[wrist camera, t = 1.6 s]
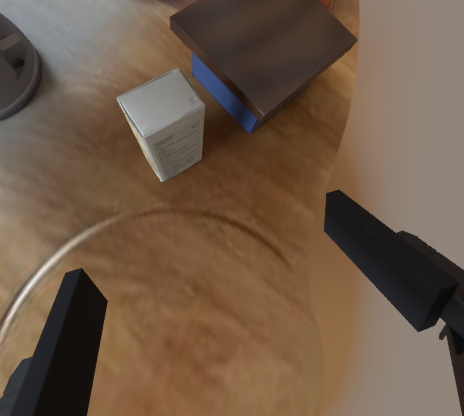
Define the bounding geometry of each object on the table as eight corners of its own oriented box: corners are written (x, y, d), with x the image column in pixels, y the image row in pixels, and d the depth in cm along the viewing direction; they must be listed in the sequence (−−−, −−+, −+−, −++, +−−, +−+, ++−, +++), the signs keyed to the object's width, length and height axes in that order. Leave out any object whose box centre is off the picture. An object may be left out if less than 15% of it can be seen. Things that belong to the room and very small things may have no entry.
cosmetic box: (185, 134, 33) (182, 64, 21) (202, 160, 33) (209, 103, 21) (141, 157, 31) (112, 94, 20) (160, 184, 31) (141, 138, 19)
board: (170, 29, 28) (169, 16, 26) (270, -31, 32) (273, -44, 31) (261, 123, 27) (264, 115, 26) (350, 49, 32) (357, 39, 30)
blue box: (192, 74, 35) (192, 30, 28) (254, 32, 39) (267, -16, 32) (249, 134, 35) (263, 103, 28) (307, 86, 38) (332, 48, 31)
